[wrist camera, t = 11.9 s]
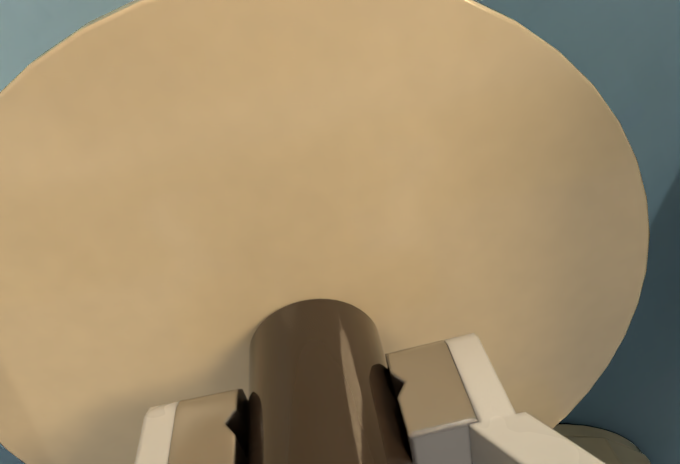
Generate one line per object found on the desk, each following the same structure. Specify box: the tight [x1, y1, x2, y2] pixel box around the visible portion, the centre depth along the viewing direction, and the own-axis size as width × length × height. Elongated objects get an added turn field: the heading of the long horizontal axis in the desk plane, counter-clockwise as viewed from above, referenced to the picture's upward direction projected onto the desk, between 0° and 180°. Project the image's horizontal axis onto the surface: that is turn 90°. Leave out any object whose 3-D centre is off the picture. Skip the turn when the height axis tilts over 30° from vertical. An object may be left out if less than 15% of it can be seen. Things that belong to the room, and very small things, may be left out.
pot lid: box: [0, 0, 650, 464], centre depth 9 cm, size 13×13×5 cm
